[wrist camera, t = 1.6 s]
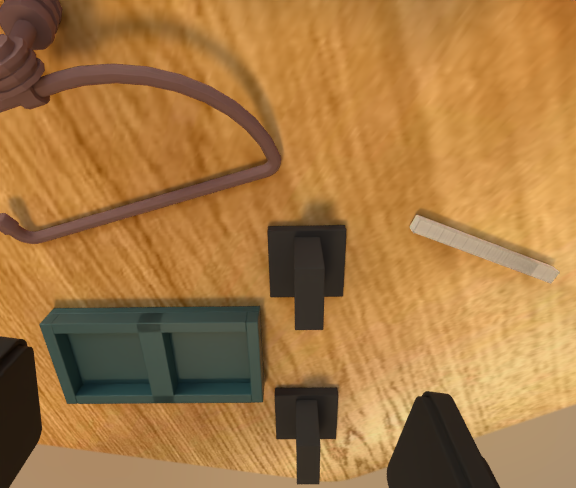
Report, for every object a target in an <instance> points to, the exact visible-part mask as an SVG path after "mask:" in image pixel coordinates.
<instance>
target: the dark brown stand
mask: <svg viewBox="0 0 576 488" xmlns="http://www.w3.org/2000/svg"><path fill="white" fill-rule="evenodd" d="M345 247H346V228H345V225H323V226H268V253H269V276H270V297H295V330H323V322H324V297H339V296H343V287H344V267H345Z"/></svg>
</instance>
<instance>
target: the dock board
mask: <svg viewBox="0 0 576 488" xmlns="http://www.w3.org/2000/svg"><path fill="white" fill-rule="evenodd" d="M40 328H41V331H42V334H43V336H44V339H45V342H46V345H47V348H48V351H49V353H50V356H51V359H52V362H53V365H54V368H55V370H56V373H57V376H58V379H59V382H60V385H61V387H62V390H63V393H64V396H65V399H66V402H67V404H77V403H78V404H118V403H251V402H263V395H264V368H263V351H262V333H261V316H260V306H227V307H131V308H54V309H53V310H52V311H51V312H50V313H49V314H48V315H47V317H46V318H45V319H44V320H43V321H42V322H41V323H40Z"/></svg>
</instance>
